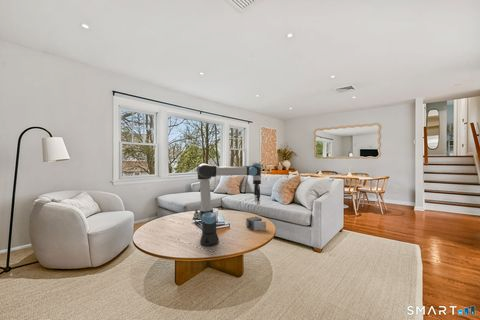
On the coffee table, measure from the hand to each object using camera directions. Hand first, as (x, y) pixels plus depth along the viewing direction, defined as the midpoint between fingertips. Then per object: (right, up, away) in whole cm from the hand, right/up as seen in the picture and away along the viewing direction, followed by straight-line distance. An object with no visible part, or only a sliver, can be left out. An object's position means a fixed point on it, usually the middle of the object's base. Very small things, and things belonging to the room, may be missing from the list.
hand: (257, 203), depth 198 cm
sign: (-55, -26, +27) cm, 66 cm away
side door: (+2, -26, 0) cm, 26 cm away
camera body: (-3, -25, +7) cm, 27 cm away
